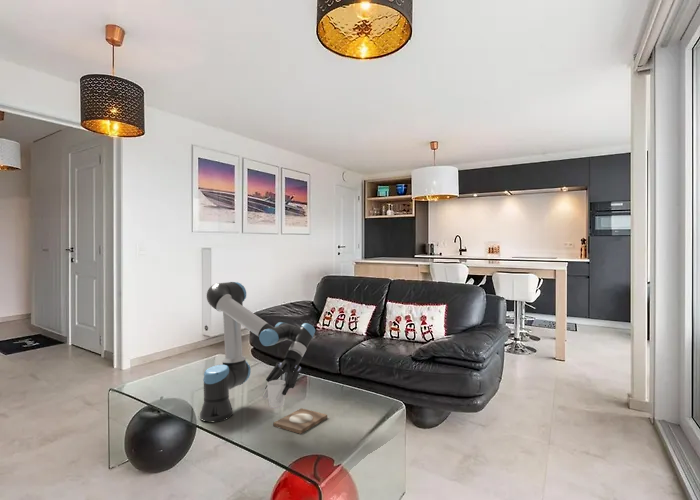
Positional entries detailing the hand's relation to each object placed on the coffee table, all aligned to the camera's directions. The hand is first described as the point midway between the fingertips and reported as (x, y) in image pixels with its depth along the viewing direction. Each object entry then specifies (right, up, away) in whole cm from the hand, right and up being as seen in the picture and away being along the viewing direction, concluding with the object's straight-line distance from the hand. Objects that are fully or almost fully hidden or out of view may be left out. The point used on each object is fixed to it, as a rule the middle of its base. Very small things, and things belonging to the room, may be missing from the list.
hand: (271, 399), depth 164 cm
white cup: (+2, -4, +3) cm, 5 cm away
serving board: (+11, -16, +14) cm, 24 cm away
